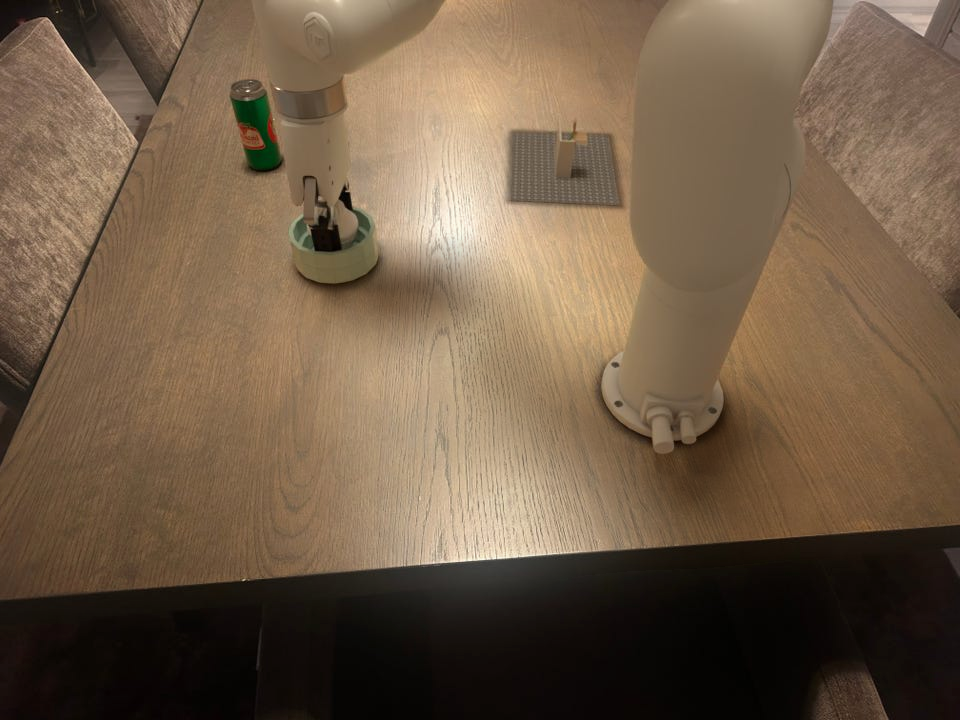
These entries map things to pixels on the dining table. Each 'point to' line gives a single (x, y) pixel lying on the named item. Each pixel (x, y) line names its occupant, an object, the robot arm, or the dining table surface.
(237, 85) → the soda can
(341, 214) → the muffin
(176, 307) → the dining table surface
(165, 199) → the dining table surface
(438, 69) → the dining table surface
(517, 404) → the dining table surface
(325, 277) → the bowl
